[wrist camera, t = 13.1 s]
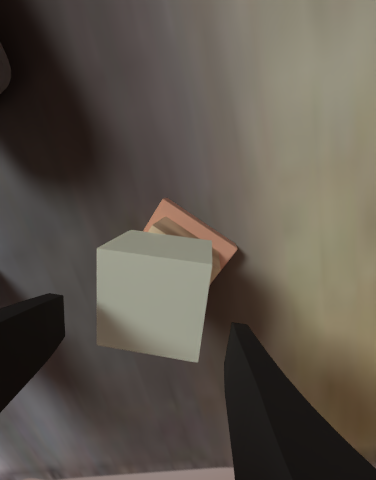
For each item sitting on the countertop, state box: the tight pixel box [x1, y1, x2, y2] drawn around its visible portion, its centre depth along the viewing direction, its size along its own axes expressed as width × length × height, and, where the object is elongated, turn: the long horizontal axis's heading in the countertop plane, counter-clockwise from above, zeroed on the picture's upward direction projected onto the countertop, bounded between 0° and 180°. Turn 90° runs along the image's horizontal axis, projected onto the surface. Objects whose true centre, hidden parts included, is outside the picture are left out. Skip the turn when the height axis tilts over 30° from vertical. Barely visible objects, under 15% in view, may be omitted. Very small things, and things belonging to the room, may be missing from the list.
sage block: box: [97, 230, 212, 363], centre depth 12 cm, size 5×5×4 cm
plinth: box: [143, 198, 237, 283], centre depth 18 cm, size 7×7×2 cm
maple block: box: [148, 216, 221, 285], centre depth 16 cm, size 5×5×4 cm
